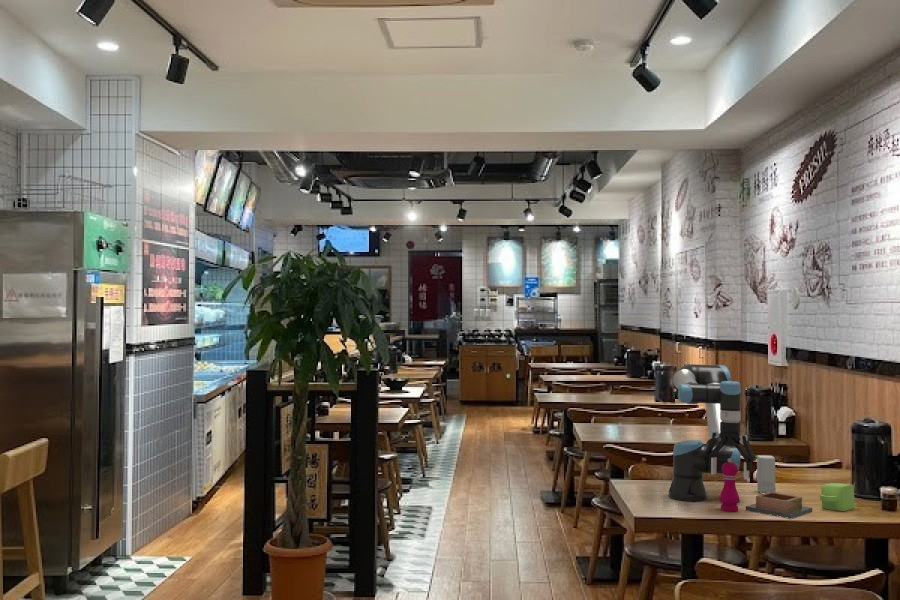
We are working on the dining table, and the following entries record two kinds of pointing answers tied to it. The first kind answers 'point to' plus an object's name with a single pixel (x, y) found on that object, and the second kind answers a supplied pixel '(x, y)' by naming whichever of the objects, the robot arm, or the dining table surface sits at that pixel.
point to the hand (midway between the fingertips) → (729, 476)
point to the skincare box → (766, 474)
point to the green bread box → (837, 496)
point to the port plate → (779, 505)
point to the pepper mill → (729, 487)
